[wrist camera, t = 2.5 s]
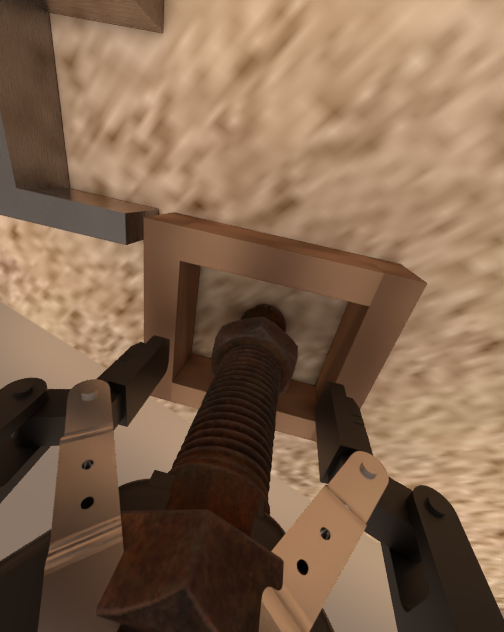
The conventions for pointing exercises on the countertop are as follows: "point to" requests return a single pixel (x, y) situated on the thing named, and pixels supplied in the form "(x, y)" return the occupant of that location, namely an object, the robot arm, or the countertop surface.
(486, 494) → the countertop surface
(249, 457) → the bolt
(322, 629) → the robot arm
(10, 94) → the block
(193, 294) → the square frame block
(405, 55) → the countertop surface
